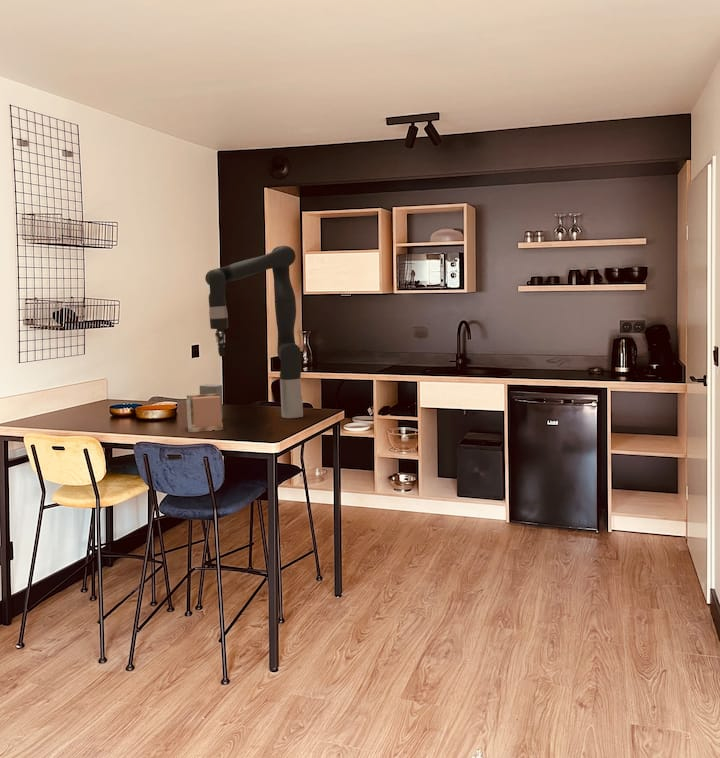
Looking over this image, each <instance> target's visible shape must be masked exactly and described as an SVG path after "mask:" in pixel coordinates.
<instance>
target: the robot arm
mask: <svg viewBox="0 0 720 758" xmlns="http://www.w3.org/2000/svg"><path fill="white" fill-rule="evenodd" d="M296 258H297V256H296V252H295V250H294V249H293V248H292V247H290V246H289V245H280V246H279V245H278V246H276V247H274V248H273V249H272V251H271V252H268V253H266V254H264V255H260V256H256V257H252V258H247V259H244V260H241V261H237V262H234V263H230V264H229V265H227V266H222V267H219V268H218V267H217V268H214V269H211V270H209V271H208V272H207V273H206V274H205V276H204V277H205V279H204V280H205V282H206V284H208V285H209V295H208V305H209V306H208V307H209V308H208V309H209V312H208V314H209V315H208V316H209V325H210V330H216V331H215V333H214V334H215V335H214V336H215V341H216V345H217V349H218V350H217V351H218V355H219V357H225V356H226V354H225V353H226V352H225V351H226V350H225V347H226V346H225V345H226V333H225V332H224V330H225V329H229V317H228V309H227V300H226V284H227V283H229V282H232V281H233V282H234V281H238V280H241V279H245V278H247V277H250V276H252V275H256V274H259V273H261V272H264V271H267V270H270V269H272V276H273V295H274V309H275V311H274V313H275V319H276V321H275V322H276V327H277V328H276V329H277V349H276V352H277V357H278V358H279V360H280V372H279V387H280V388H279V389H280V405H281V406H280V407H281V408H280V409H281V410H280V411H281V412H280V413H281V418H284V419H296V418H297V419H298V418H303V417H304V407H303V406H304V405H303V402H304V401H303V395H302V379H301V378H302V377H301V376H302V375H301V374H302V351H301V348H300V346H298V345H297V344H296V338H295V326H296V325H295V324H296V317H297V304H296V303H297V302H296V301H297V300H296V296H295V295H296V294H295V292H294V289H293V285H292V282H291V278H290V277H291V275H290V266H292V265H293V264H294V262H295V260H296Z"/></svg>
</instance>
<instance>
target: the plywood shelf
mask: <svg viewBox="0 0 720 758" xmlns="http://www.w3.org/2000/svg"><path fill="white" fill-rule="evenodd" d="M207 396H220V405H221V395H220V393H218V394H201V395H200V394H187V395H186V399H187V398H191V415H192V429H188V428H187V433H199V432H211V431H212V430H215V431H224V425H223V411H222V412H221V422H222V426H213V427H199V428H194V412H193V397H207ZM212 432H213V431H212Z"/></svg>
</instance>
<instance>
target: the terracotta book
mask: <svg viewBox="0 0 720 758" xmlns="http://www.w3.org/2000/svg"><path fill="white" fill-rule="evenodd" d="M193 412H194V428H199V427H213V426H222V424H223V421H222V422H221V405H220V396H207V397H193Z"/></svg>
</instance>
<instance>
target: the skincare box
mask: <svg viewBox="0 0 720 758" xmlns="http://www.w3.org/2000/svg"><path fill="white" fill-rule="evenodd" d="M218 393H220V395H221V412H222V413H223V385H222V384H207V383H205V384H201V385H199V395H201V394H218Z"/></svg>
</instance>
